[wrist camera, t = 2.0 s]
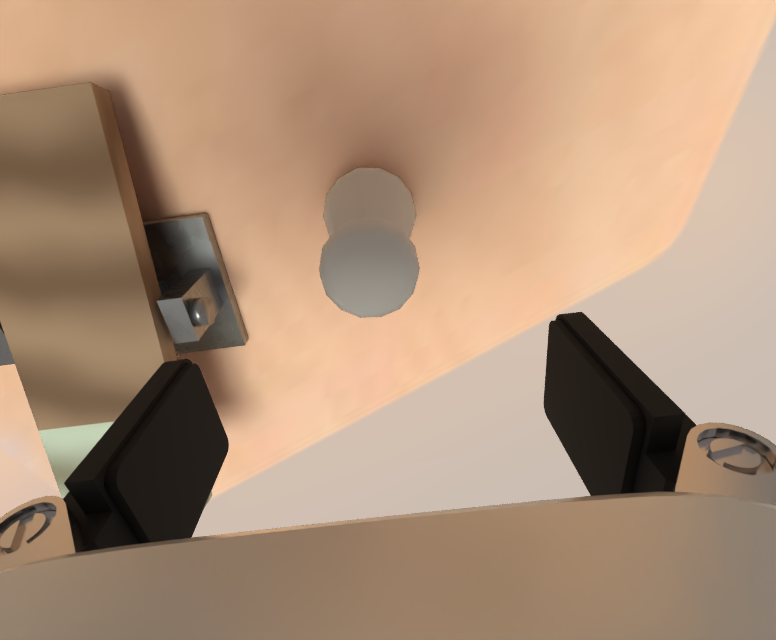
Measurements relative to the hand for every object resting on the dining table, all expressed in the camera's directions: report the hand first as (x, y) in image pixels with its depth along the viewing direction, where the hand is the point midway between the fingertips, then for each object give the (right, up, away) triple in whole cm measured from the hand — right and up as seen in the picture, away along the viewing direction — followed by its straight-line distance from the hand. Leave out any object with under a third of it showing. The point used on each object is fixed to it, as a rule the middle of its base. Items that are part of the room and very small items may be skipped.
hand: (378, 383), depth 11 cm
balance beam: (-18, +1, +15) cm, 24 cm away
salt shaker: (-1, +10, +17) cm, 20 cm away
